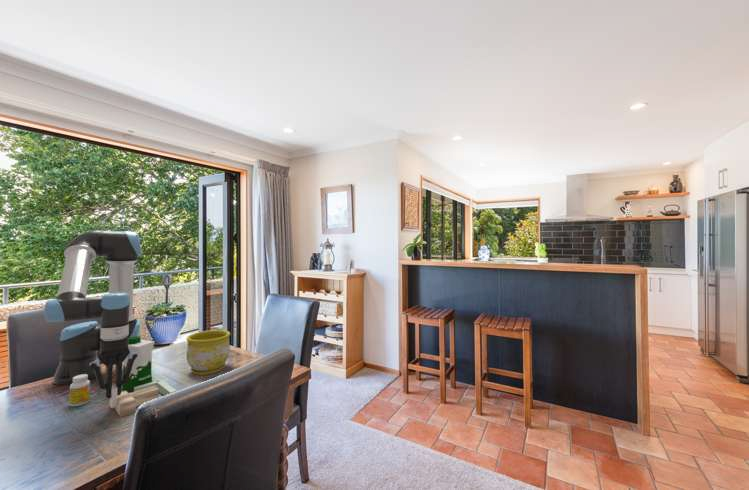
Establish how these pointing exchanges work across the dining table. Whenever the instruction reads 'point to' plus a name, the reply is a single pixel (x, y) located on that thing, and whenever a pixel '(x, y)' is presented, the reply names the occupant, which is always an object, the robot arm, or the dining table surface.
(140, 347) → the milk carton
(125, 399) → the t block
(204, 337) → the flowerpot
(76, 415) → the dining table surface
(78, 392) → the supplement bottle
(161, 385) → the corner stop
